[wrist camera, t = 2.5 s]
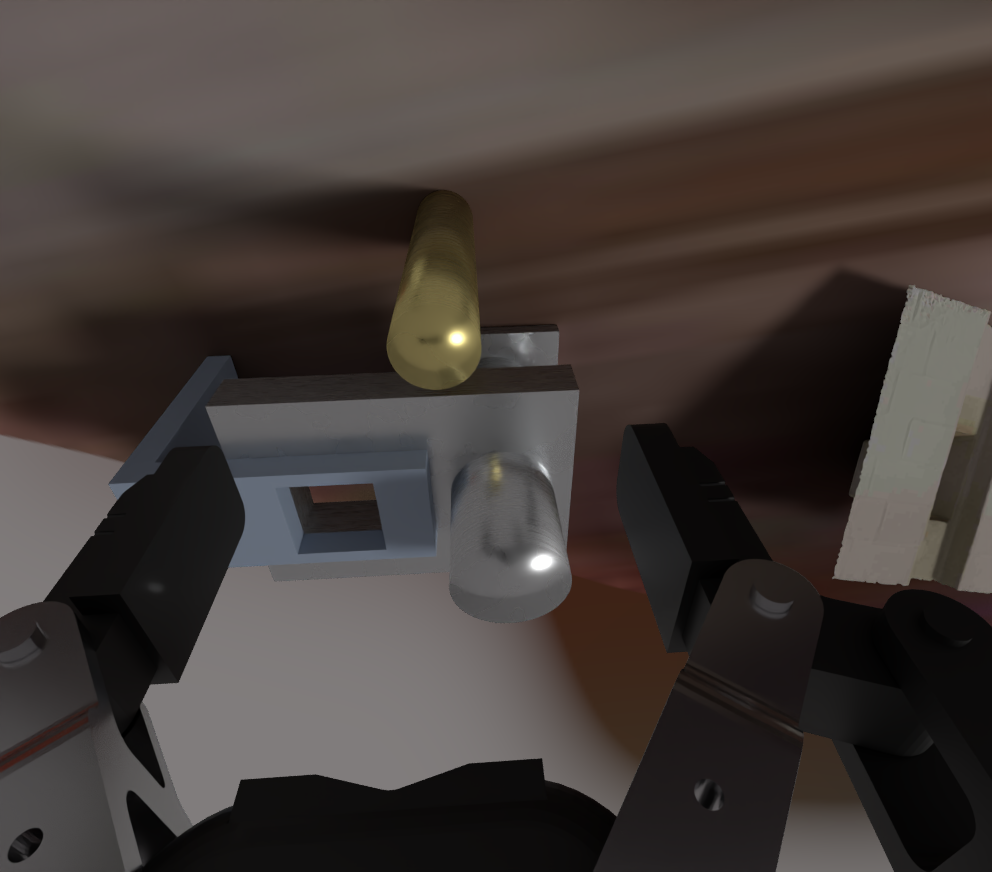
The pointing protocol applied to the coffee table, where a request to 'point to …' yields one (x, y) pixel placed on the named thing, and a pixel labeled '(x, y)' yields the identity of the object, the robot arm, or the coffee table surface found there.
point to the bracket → (268, 479)
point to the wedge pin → (438, 298)
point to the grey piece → (437, 465)
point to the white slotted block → (928, 456)
